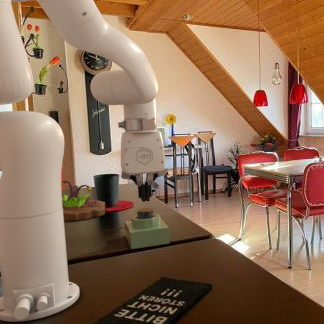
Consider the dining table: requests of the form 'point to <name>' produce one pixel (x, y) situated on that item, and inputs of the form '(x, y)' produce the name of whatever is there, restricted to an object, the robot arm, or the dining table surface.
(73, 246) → the dining table surface
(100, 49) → the robot arm
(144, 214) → the dark round button cap
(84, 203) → the plant
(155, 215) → the button base
